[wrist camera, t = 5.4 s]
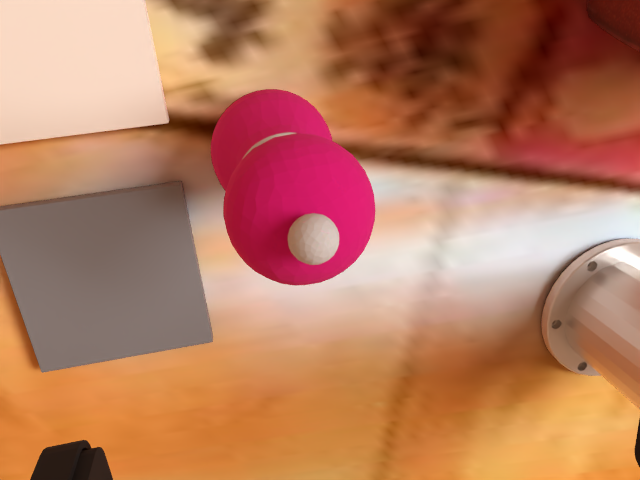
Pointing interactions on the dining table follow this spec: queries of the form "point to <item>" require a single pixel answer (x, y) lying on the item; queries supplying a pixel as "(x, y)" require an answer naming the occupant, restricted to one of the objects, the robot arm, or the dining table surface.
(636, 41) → the plant pot
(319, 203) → the pepper mill
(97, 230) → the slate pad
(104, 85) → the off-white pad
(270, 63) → the dining table surface
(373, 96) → the dining table surface
